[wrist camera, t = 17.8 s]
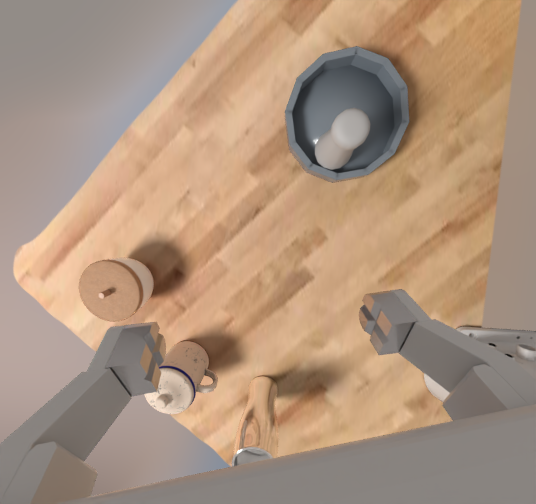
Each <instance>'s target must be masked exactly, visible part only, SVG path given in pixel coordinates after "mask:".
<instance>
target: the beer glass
mask: <svg viewBox="0 0 536 504" xmlns="http://www.w3.org/2000/svg"><path fill="white" fill-rule="evenodd" d="M277 393H278V388H277V385H276V383H275V381H274V380H272V379H271V378H269V377H266V376H259V377H256V378H254V379H253V380H252V381H251V382H250V384H249V399H248V403H247V405H246V408H245V410H244V412H243V415H242V417H241V420H240V423H239V426H238V430H237V434H236V439H235V445H234V453H233V459H232V467H233V466H238V465H243V464H248V463H252V462H257V461H262V460H267V459H272V458H277V454H278V422H277V416H276V409H275V401H276V397H277Z"/></svg>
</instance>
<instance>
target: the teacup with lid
mask: <svg viewBox="0 0 536 504" xmlns="http://www.w3.org/2000/svg"><path fill="white" fill-rule="evenodd" d="M208 365H209V358H208V355H207V353H206V351H205V350H204V349H203V348H202V347H201V346H200V345H199V344H197V343H194V342H191V341H183V342H179V343H177V344H176V345H174V346H173V347H172V348H171V349H170V351H169V352H168V353H167V354H166V356H165V359H164V362H163V363H162V364H161V365H160V366H159V369H160V371H161V377H160V381H159V385H158V390H157V392H153V393H147V394H145V397H146V399H147V401H148V402H149V404H150V405H151V406H152V407H153V408H155V409H156V410H158V411H160V412H162V413H166V414H177V413H180V412H182V411H184V410H186V409H187V408H188V407H189V406H190V405H191V404H192V402H193V401H194V398H195V393H196V391H197V392H201V393H208V392H211V391H213V390H214V389H215V388H216V386H217V382H218V378H217V375H216V374H215V372H213V371H211V370H209V369H208ZM204 375H206V376H209V377H211V378H212V379H213V383H212V384H211V385H208V386H204V385H200V383H201V381H202V379H203V377H204Z"/></svg>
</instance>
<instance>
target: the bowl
mask: <svg viewBox="0 0 536 504" xmlns="http://www.w3.org/2000/svg"><path fill="white" fill-rule="evenodd" d="M351 108H356V109H360V110H362V111H363V112H364V113H365V114H366V115H367V116H368V118H369V121H370V131H369V134H368V136H367V138H366V139H365V141H364V143H362V144H361V145H360V146H358V147H357V148H355V149H354V150H353V153H352V156H351V157H350V159H349V161H348V162H347V164H345V165H344V166H342V167H341V168H338V169H333V170H330V169H327V168H324V167H323V166H321V165H320V164H319V163H318V162H317V159H316V156H315V145H316V143H317V141H318V139H319V138H320V136H322V135H323V134H324V133H326V132H327V131H328V130H330V129H331V126H332V124H333V122H334V120H335V119H336V117H337V116H338V115H339V114H341V113H342V112H343V111H344V110H346V109H351ZM408 123H409V108H408V89H407V85H406V84H405V82H404V81H403V79H402V78H401V76H400V75H399V74H398V72H397V71H396V69H395V68H394V66H393V65H392V63H391V62H390V60H389V59H388V58H386V57H383V56H381V55H378V54H376V53H373V52H370V51H368V50H365V49H363V48H360V47H357V46H356V47H352V48H347V49H343V50H338V51H334V52H329V53H325V54H323V55H321V56H320V57H319V58H318V59H317V60H316V61H315V62H314V63H313V64H312V65H311V66H310V67H308V68H307V69H306V70H305V71H304V72H303V73H302V74H301V75H300V76H299V77H298V78H297V79H296V82H295V85H294V88H293V91H292V93H291V96H290V99H289V102H288V104H287V107H286V110H285V124H286V131H287V138H288V146H289V151H290V152H291V153H292V154H293V156H294V157H295V158H296V160H297V161H298V162H299V164H300V165H301V166H302V168H303V169H304V170H305V171H306V173H309V174H311V175H314V176H316V177H319V178H322V179H324V180H327V181H329V182H332V183H333V182H339V181H345V180H351V179H357V178H361V177H364V176H366V175H368V174H370V173H371V172H372V171H373V170H375V169H376V168H377V167H378V166H380V165H381V164H382V163H383V162H385V161H386V160H387V159H389V158H390V157H391V156H392V155H394V154H395V152H396V149H397V147H398V145H399V143H400V141H401V139H402V136H403V134H404V132H405V130H406V128H407V126H408Z"/></svg>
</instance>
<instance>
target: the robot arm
mask: <svg viewBox="0 0 536 504" xmlns="http://www.w3.org/2000/svg"><path fill="white" fill-rule="evenodd" d="M362 301H363V302H364V305H363V306H362V307H361V308H360V311H359V320H360V323H361V326H362V328H363V329H364V331H365V332H367V333H368V334H370V335H371V337H370V341H371V343H372V345H373V346H374V348H375V350H376V351H377V353H378V355H384V354H392V353H399V352H400V353H399V354H400V355H402V356H403V357H404V358H406V359H407V360H408V361H409V362H411V363H412V364H413V365H415V366H416V367H417V368H418V369H420V370H421V371H422V372H424V379H425V383H426V386H427V388H428V389H429V391H430V392H431V393H432V394H433V395H434V396H435V397H436V398H438V399H439V400H441V401H442V402H443V407H444V408H445V410H446V411H447V413H448V414H449V416H450V417H451V419H452V420H453V421H450V422H445V423H440V424H436V425H431V426H426V427H421V428H416V429H411V430H407V431H402V432H397V433H392V434H387V435H383V436H378V437H373V438H368V439H363V440H358V441H354V442H349V443H344V444H339V445H334V446H330V447H325V448H320V449H315V450H310V451H305V452H301V453H296V454H291V455H286V456H281V457H277V458H272V459H267V460H262V461H257V462H252V463H248V464H243V465H238V466H233V467H228V468H224V469H219V470H214V471H209V472H204V473H199V474H195V475H190V476H185V477H180V478H175V479H171V480H166V481H161V482H156V483H151V484H147V485H142V486H137V487H133V488H127V489H122V490H118V491H113V492H108V493H103V494H98V495H93V496H91V493H92V490H93V487H94V484H95V481H96V477H97V472H96V470H95V469H94V468H93V467H91V466H90V465H88V464H87V463H85V462H84V461H85V459H86V458H87V457H88V455H89V454H90V453H91V451H92V450H93V449H94V447H95V446H96V445H97V443H98V442H99V441H100V439H101V438H102V437H103V435H104V434H105V433H106V431H107V430H108V429H109V427H110V426H111V425H112V423H113V422H114V421H115V419H116V418H117V417H118V415H119V414H120V413H121V411H122V410H123V409H124V407H125V406H126V405H127V404H128V402H129V401H130V400H131V397H132V396H137V395H142V394H147V393H153V392H157V390H158V385H159V381H160V377H161V371H160V369H159V366H160V365H161V364H162V363H163V362H164V359H165V354H166V344H165V339H164V337H163V335H161V334H159V333H158V332H159V329H160V328H159V326H158V324H157V322H150V323H141V324H131V325H124V326H115V327H111V328H109V329H108V330H107V332H106V334H105V336H104V338H103V340H102V342H101V344H100V346H99V348H98V350H97V352H96V354H95V356H94V358H93V360H92V362H91V364H90V366H89V368H88V370H87V371H86V372H82V373H80V374H79V375H78V376H77V377H76V378H75V379H74V380H72V381H71V382H70V383H69V384H68V385H67V386H66V387H64V388H63V390H61V391H60V392H59V393H58V394H56V395H55V396H54V397H53V398H52V399H51V400H50V401H48V403H46V404H45V405H44V406H43V407H42V408H40V409H39V410H38V411H37V412H36V413H35V414H34V415H33V416H31V417H30V418H29V419H28V420H27V421H26V422H25V423H23V424H22V425H21V426H20V427H19V428H18V429H17V430H15V431H14V432H13V433H12V434H11V435H10V436H9V437H7V438H6V439H5V440H4V441H3V442H2V443H1V444H0V504H536V331H525V330H509V329H493V328H478V327H459V328H457V329H456V330H455V329H453V328H451V327H449V326H447V325H445V324H443V323H441V322H439V321H438V320H436V319H434V320H431V319H430V317H429V316H428V315H427V314H426V313H425V312H424V311H423V310H422V309H421V308H420V307H419V306H418V304H417V303H416V302H415V301H414V300H413V299H412V298H411V297H410V296H409V295H408V294H407V293H406V292H405V291H404V290H402V289H399V290H391V291H383V292H376V293H369V294H366V295H365V296H364V297H363V300H362ZM470 333H471V334H470ZM469 334H470V335H469Z"/></svg>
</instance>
